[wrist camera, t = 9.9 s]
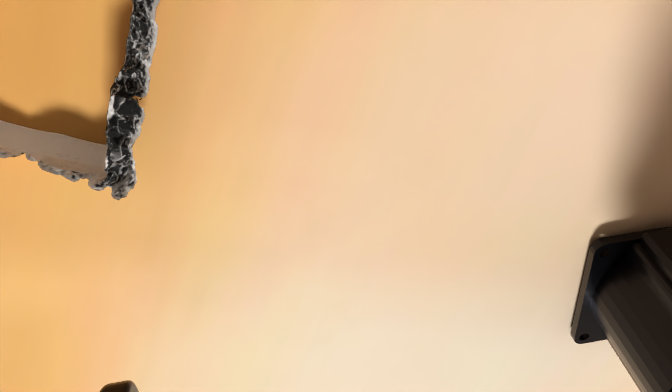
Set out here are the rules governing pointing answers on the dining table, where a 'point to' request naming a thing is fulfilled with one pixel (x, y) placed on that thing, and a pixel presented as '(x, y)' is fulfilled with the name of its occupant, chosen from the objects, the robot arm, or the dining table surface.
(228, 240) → the dining table surface
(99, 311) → the dining table surface
